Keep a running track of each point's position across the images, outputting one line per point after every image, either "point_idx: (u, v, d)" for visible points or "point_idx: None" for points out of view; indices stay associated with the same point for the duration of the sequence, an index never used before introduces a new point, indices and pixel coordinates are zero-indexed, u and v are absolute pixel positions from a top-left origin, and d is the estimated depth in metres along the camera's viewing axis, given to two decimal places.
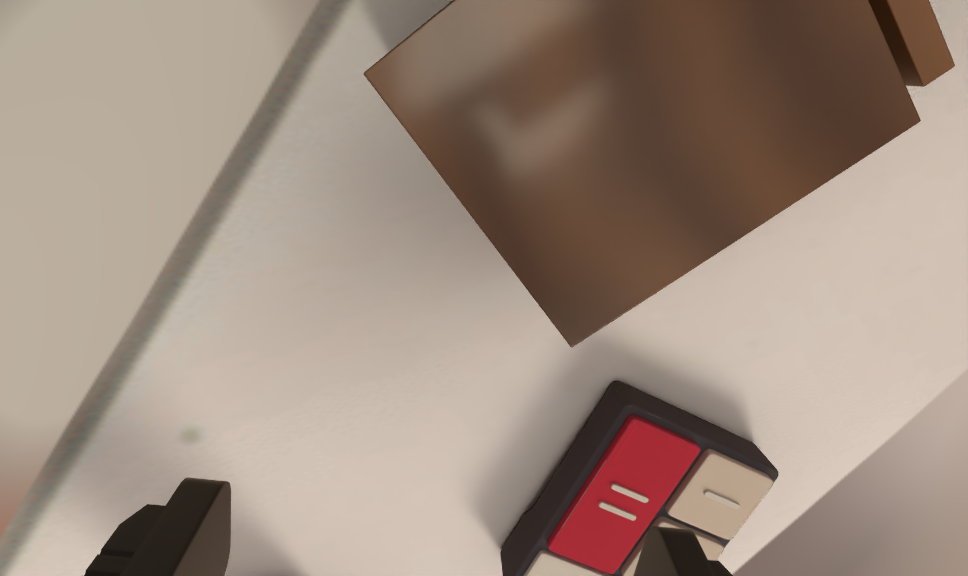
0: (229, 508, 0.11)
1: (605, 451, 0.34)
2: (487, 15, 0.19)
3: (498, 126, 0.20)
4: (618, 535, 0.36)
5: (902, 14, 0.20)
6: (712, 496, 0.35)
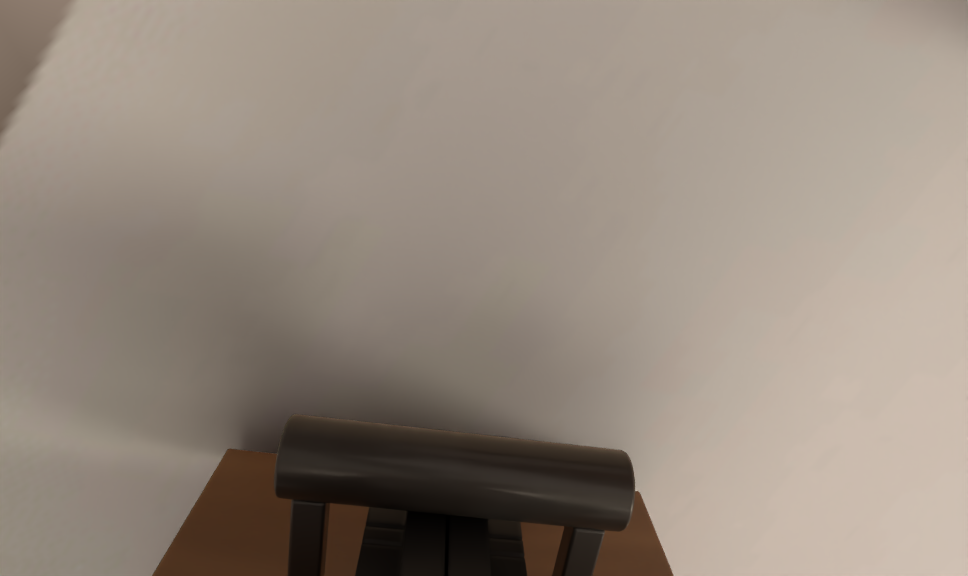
0: None
1: None
2: None
3: None
4: None
5: None
6: None
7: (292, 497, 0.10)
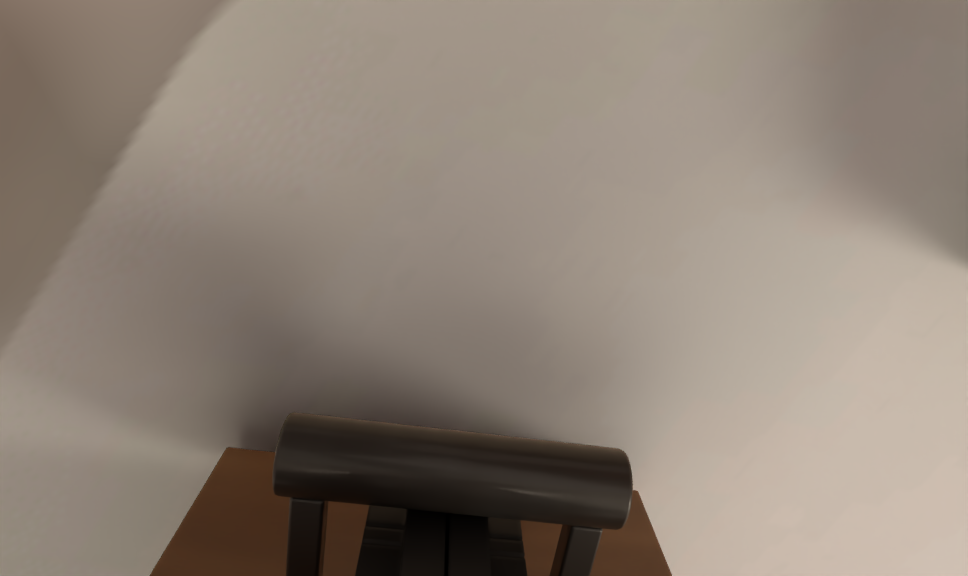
0: None
1: None
2: None
3: None
4: None
5: None
6: None
7: (290, 495, 0.10)
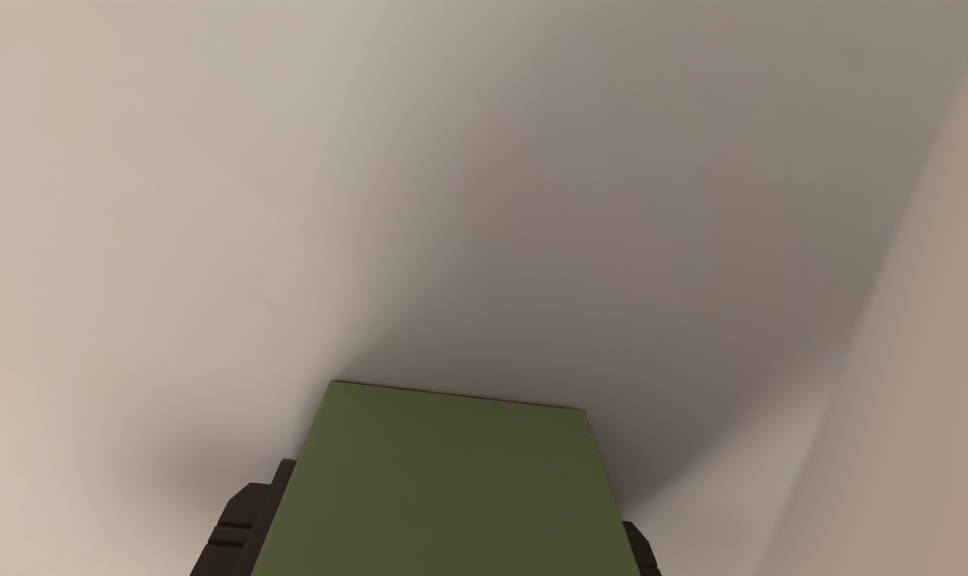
0: None
1: None
2: None
3: None
4: None
5: None
6: None
7: None
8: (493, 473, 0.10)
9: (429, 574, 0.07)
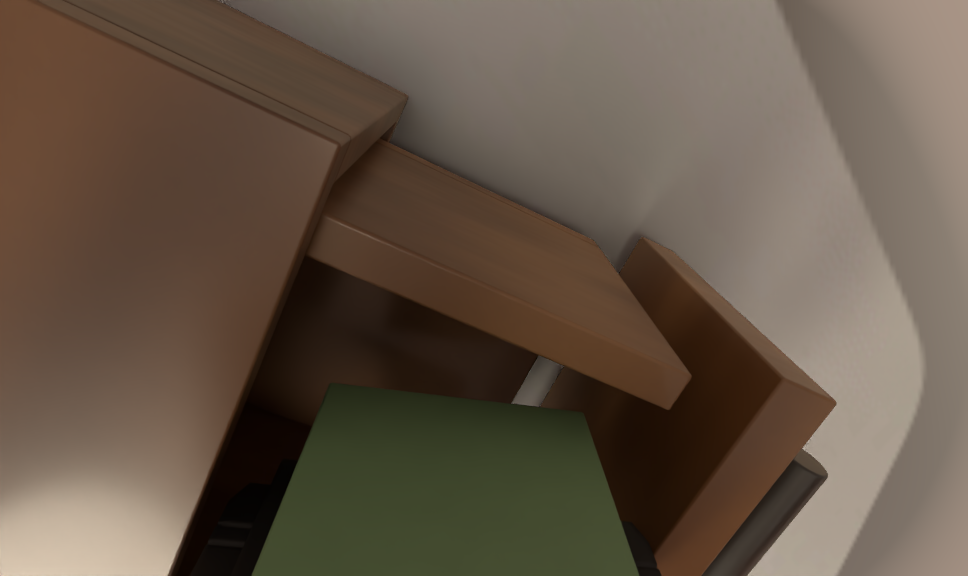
0: None
1: None
2: None
3: None
4: None
5: None
6: None
7: (796, 476, 0.15)
8: (493, 475, 0.10)
9: None
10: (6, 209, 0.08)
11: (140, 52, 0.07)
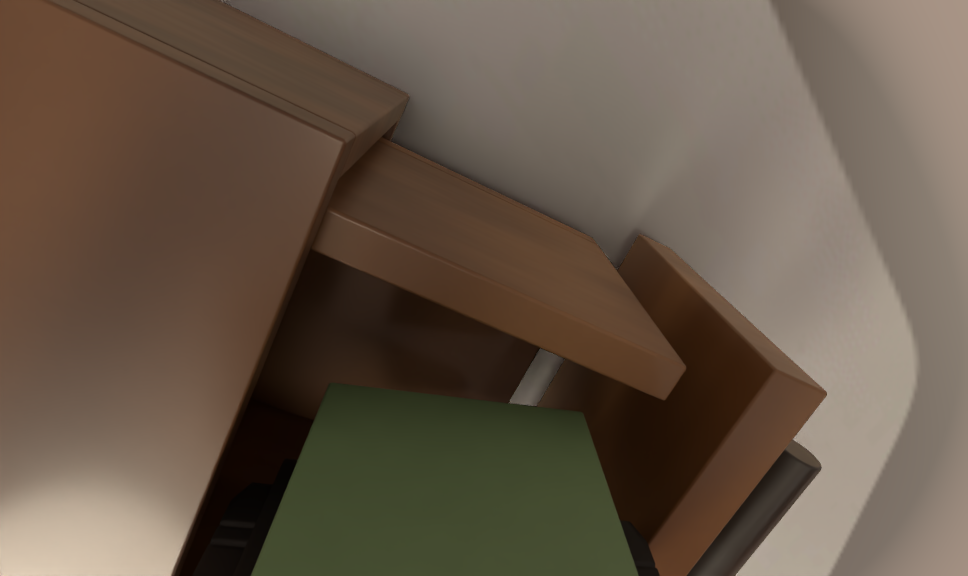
0: None
1: None
2: None
3: None
4: None
5: None
6: None
7: (790, 468, 0.15)
8: (492, 474, 0.10)
9: (428, 575, 0.08)
10: (24, 204, 0.08)
11: (154, 53, 0.08)
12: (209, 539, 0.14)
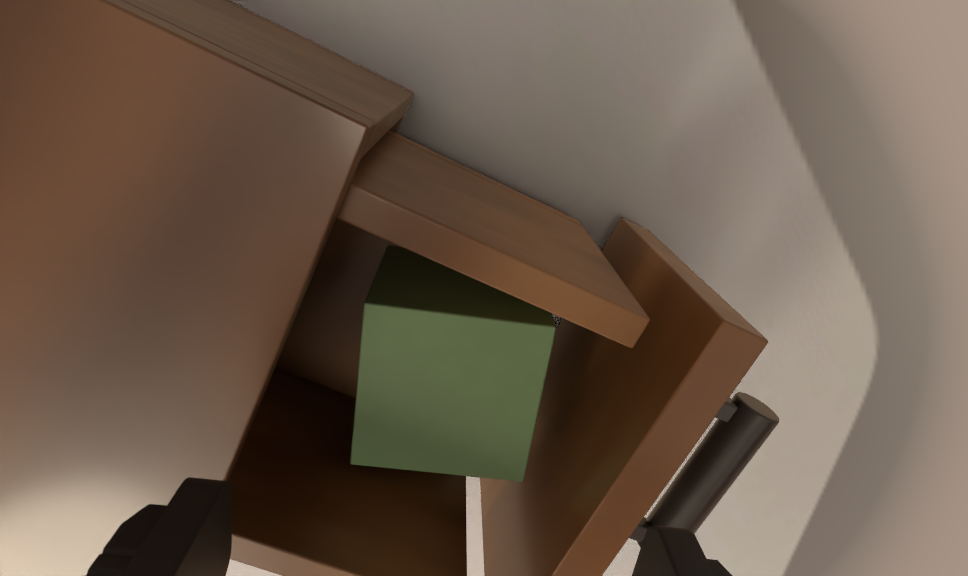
0: (230, 507, 0.11)
1: None
2: None
3: None
4: None
5: None
6: None
7: (751, 420, 0.18)
8: None
9: (448, 303, 0.16)
10: (111, 177, 0.10)
11: (219, 56, 0.10)
12: (242, 479, 0.16)
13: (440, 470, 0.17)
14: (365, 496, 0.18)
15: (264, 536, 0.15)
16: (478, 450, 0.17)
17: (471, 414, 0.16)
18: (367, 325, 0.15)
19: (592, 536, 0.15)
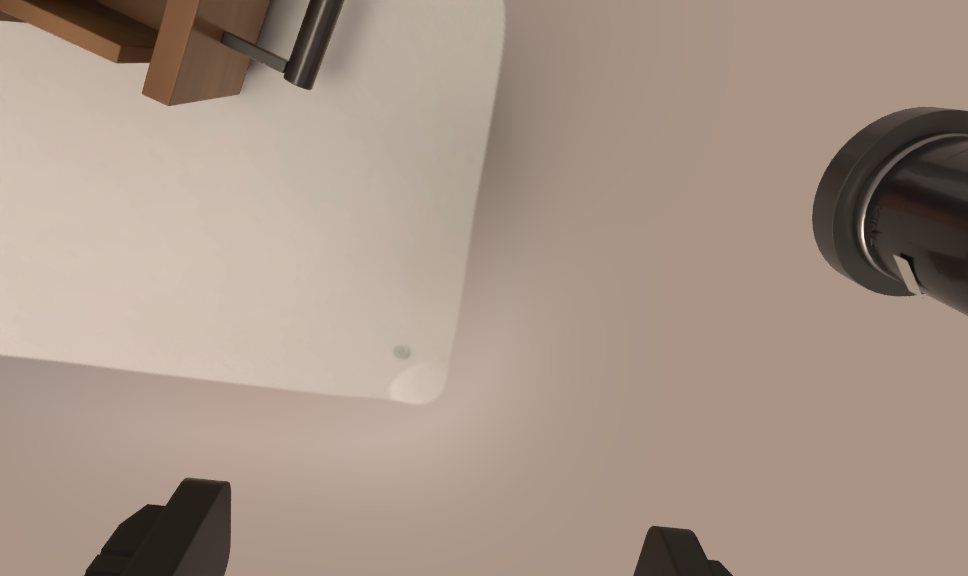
0: (229, 508, 0.11)
1: None
2: None
3: None
4: None
5: (164, 34, 0.25)
6: None
7: None
8: None
9: None
10: None
11: None
12: None
13: None
14: (80, 12, 0.27)
15: None
16: None
17: None
18: None
19: None
